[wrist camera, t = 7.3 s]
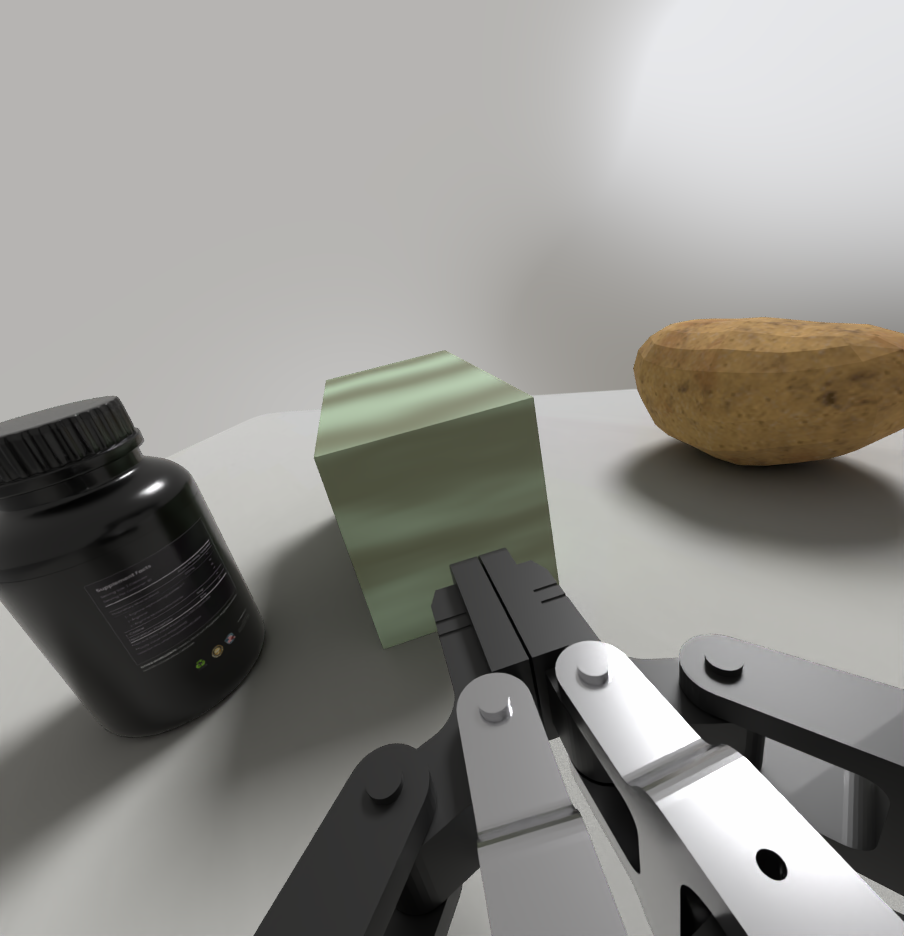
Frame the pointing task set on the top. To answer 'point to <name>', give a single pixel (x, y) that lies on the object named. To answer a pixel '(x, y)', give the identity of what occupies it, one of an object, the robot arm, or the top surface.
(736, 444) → the potato
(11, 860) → the top surface
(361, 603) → the top surface
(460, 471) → the sage-green block
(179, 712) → the supplement bottle
